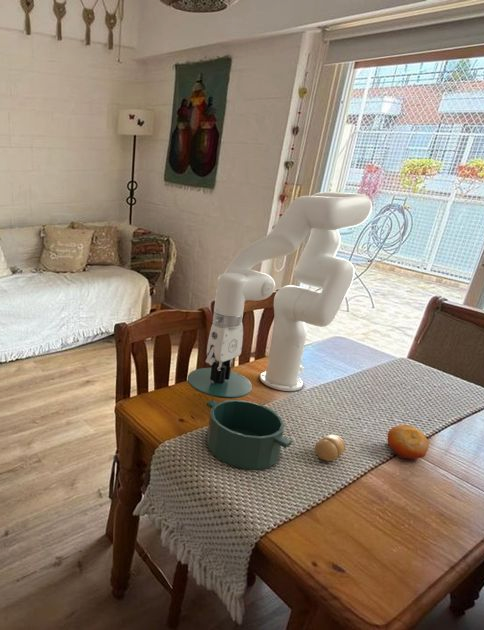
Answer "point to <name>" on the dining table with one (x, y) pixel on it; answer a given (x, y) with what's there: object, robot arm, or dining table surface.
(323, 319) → the robot arm
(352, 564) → the dining table surface
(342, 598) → the dining table surface
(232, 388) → the lid
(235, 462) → the pot
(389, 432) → the fruit
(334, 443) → the tan rounded piece
